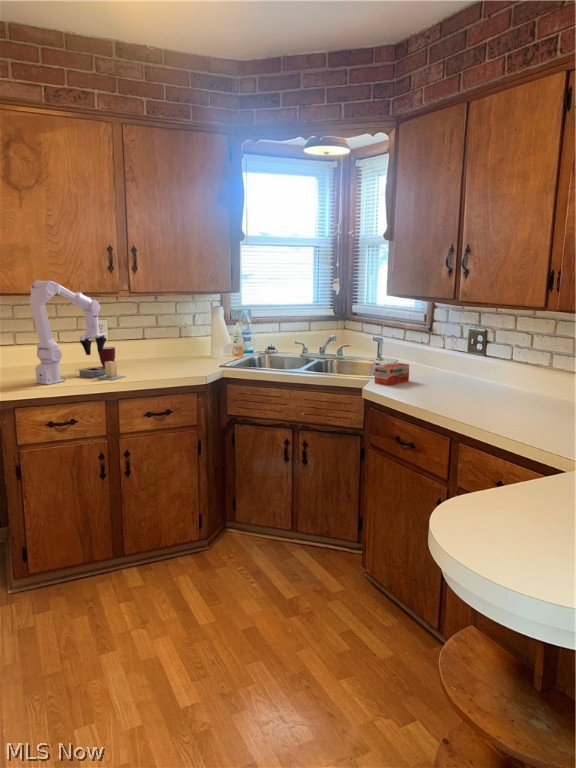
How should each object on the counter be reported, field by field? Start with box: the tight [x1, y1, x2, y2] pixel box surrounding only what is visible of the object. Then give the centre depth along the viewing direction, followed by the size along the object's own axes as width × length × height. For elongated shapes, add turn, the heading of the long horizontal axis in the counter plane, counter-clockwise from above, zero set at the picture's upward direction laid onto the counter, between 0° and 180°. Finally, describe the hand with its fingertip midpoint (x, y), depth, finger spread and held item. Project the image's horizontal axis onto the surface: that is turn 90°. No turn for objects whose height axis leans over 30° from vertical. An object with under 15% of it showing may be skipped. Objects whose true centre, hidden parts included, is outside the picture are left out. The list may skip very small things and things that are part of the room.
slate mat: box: [96, 374, 126, 381], centre depth 253 cm, size 9×9×1 cm
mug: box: [98, 346, 116, 368], centre depth 279 cm, size 10×8×10 cm
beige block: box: [105, 360, 118, 378], centre depth 252 cm, size 4×4×7 cm
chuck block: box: [78, 366, 106, 379], centre depth 257 cm, size 9×9×3 cm
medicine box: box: [374, 361, 410, 386], centre depth 243 cm, size 15×8×8 cm, turn 133°
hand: (94, 353), depth 261 cm, fingers open, 7 cm apart
